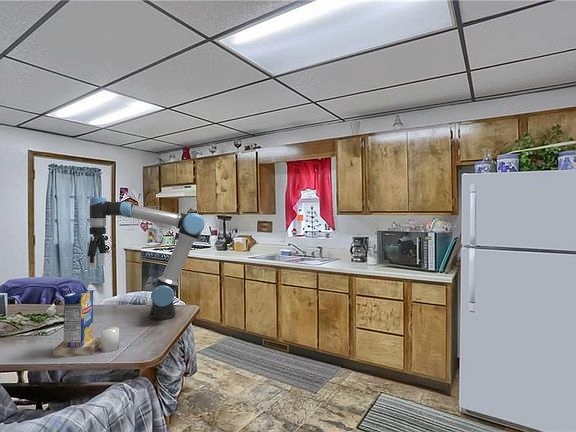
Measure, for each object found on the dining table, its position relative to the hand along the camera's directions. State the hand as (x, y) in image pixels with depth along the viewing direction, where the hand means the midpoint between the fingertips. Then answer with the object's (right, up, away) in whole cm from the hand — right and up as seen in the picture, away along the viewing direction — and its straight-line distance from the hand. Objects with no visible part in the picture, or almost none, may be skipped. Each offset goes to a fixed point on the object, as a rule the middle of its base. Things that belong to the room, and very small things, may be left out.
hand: (97, 267), depth 173 cm
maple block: (+8, -33, -28) cm, 43 cm away
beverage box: (+8, -29, -28) cm, 41 cm away
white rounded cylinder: (+21, -33, -25) cm, 46 cm away
